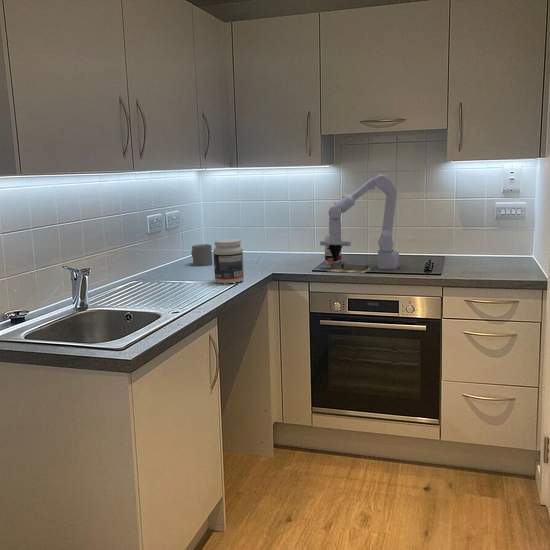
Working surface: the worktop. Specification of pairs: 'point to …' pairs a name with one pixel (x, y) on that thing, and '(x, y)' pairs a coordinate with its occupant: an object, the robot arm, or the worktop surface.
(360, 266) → the bar
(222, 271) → the supplement tub
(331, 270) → the board
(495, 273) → the worktop surface
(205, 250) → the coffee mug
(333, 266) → the tongs body
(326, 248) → the supplement can
